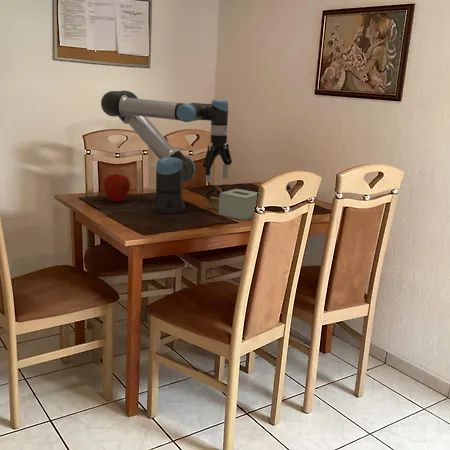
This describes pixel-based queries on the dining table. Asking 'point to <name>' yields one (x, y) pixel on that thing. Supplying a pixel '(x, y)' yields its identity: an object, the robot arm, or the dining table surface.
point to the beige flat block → (214, 203)
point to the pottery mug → (214, 191)
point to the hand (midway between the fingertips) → (217, 180)
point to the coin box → (237, 204)
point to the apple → (116, 187)
